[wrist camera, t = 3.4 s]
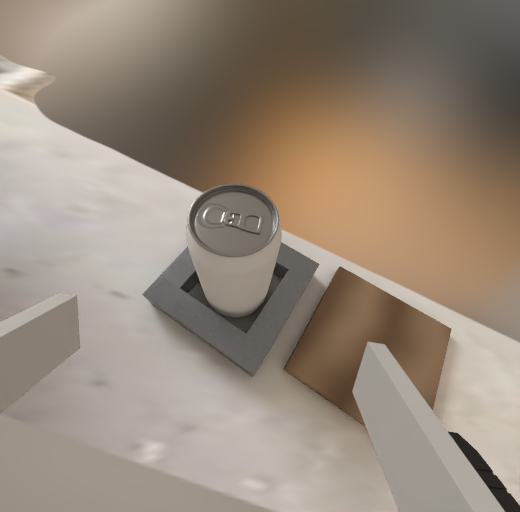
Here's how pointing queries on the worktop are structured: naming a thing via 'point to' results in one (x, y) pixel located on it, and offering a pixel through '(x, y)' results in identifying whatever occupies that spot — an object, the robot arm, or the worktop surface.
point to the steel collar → (219, 329)
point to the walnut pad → (365, 341)
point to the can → (234, 246)
